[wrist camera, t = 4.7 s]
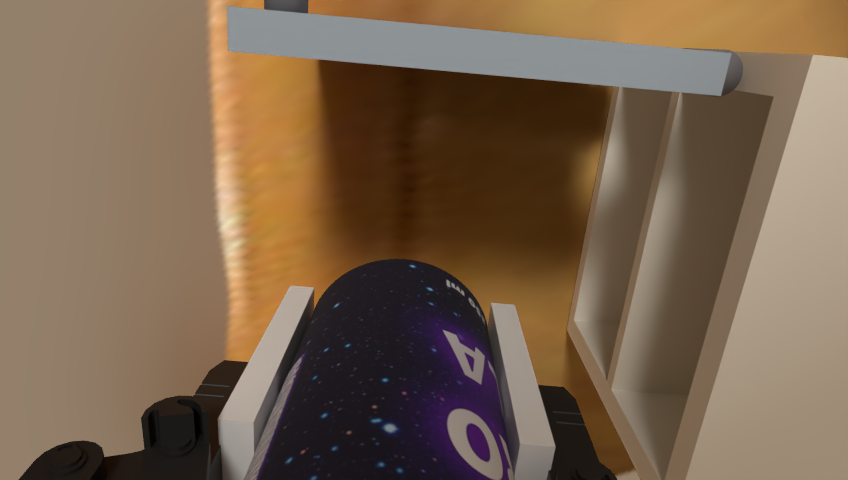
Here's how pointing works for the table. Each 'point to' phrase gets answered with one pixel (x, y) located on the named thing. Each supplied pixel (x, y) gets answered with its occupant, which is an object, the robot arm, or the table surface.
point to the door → (478, 50)
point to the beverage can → (389, 385)
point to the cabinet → (723, 275)
